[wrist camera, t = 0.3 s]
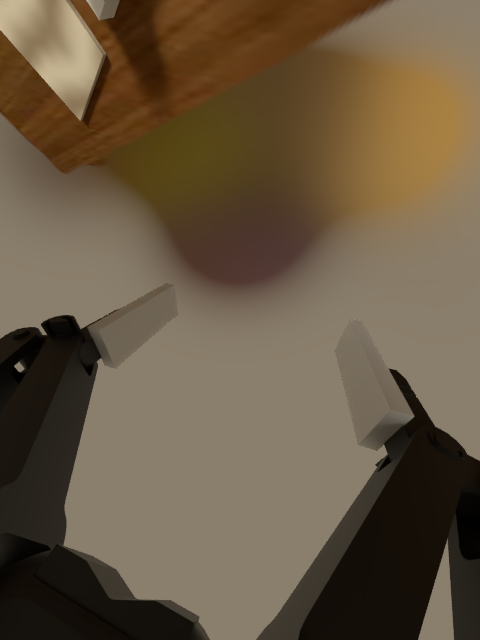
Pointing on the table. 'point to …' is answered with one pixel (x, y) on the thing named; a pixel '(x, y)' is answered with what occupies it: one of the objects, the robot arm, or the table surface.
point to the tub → (104, 8)
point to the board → (56, 47)
